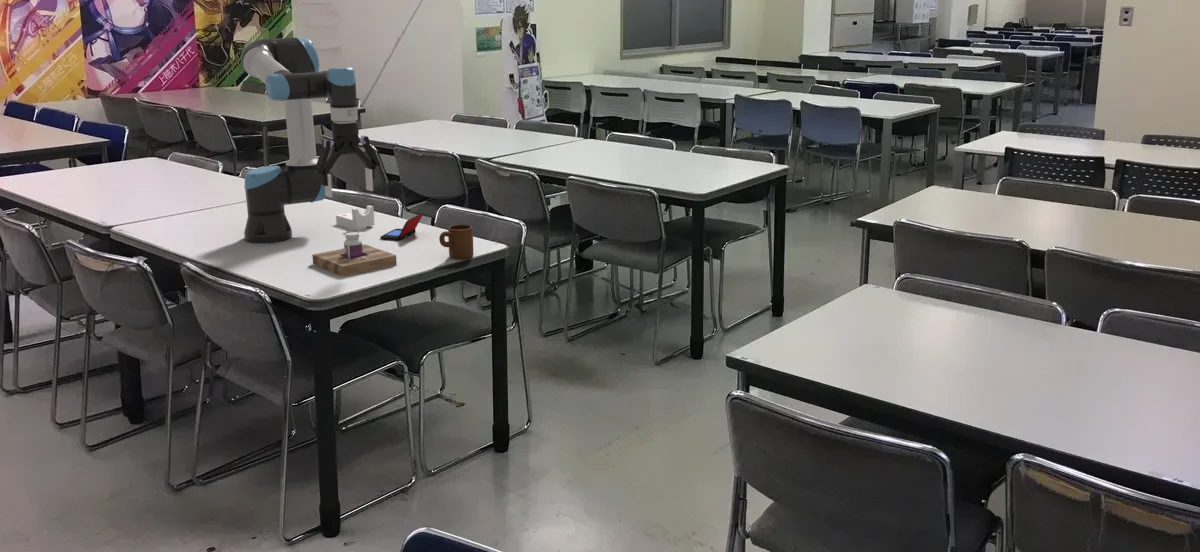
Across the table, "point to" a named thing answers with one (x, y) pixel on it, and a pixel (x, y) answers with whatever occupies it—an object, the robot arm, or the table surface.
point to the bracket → (357, 219)
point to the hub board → (354, 261)
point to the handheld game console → (403, 230)
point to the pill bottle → (353, 245)
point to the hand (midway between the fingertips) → (349, 193)
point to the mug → (458, 241)
